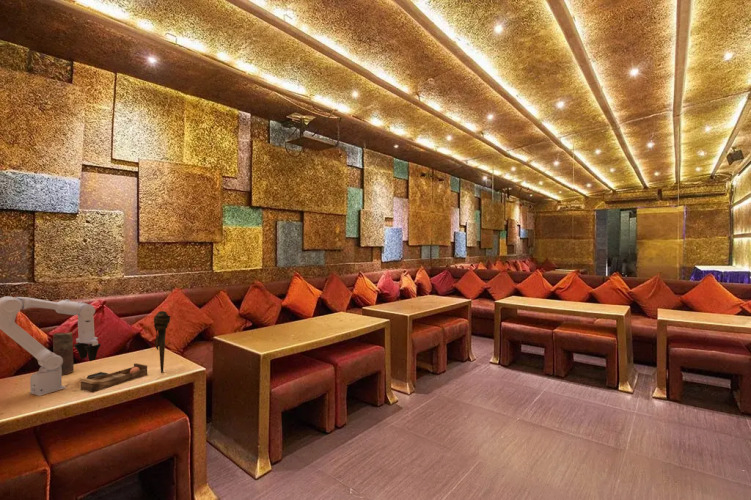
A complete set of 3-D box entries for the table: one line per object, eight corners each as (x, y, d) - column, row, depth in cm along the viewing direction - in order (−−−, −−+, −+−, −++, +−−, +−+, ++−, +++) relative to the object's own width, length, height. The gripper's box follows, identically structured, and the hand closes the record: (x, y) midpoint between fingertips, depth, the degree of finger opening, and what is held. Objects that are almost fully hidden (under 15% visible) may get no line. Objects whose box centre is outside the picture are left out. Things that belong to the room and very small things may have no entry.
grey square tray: (94, 383, 160) (94, 377, 160) (86, 381, 162) (86, 375, 163) (109, 379, 165) (109, 373, 165) (101, 377, 168) (101, 371, 168)
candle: (49, 375, 172) (49, 333, 172) (67, 370, 179) (66, 330, 179) (60, 376, 170) (59, 334, 170) (77, 371, 177) (77, 331, 177)
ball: (135, 367, 168) (132, 376, 166) (143, 368, 171) (139, 376, 170) (129, 366, 169) (126, 374, 168) (137, 366, 173) (134, 375, 171)
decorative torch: (163, 369, 178) (162, 309, 179) (173, 371, 176) (173, 310, 176) (150, 374, 172) (150, 311, 172) (160, 375, 170) (160, 312, 170)
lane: (91, 392, 150) (91, 381, 150) (79, 389, 154) (79, 378, 154) (147, 374, 171) (147, 365, 171) (135, 372, 175) (135, 363, 175)
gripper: (104, 329, 164) (106, 358, 164) (88, 326, 170) (89, 354, 170) (86, 332, 157) (88, 363, 158) (70, 330, 164) (71, 359, 164)
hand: (88, 359), depth 164 cm, fingers open, 7 cm apart
